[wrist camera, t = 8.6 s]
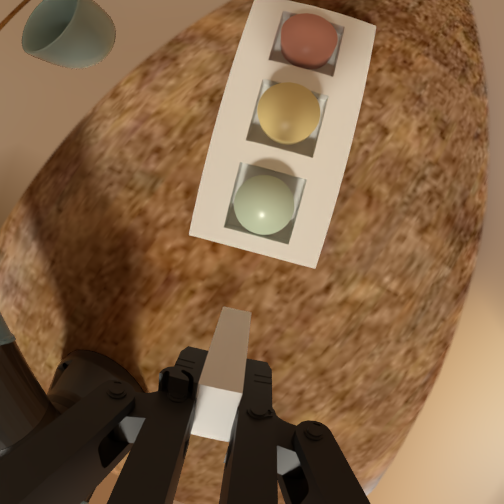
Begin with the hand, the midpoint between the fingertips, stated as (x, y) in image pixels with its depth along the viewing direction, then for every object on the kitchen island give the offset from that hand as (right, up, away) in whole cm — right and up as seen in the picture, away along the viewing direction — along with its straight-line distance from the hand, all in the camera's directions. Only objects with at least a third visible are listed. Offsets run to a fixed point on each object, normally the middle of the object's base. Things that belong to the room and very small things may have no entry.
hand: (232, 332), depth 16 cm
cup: (-17, +29, +11) cm, 35 cm away
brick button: (+6, +24, +8) cm, 26 cm away
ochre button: (+4, +16, +9) cm, 19 cm away
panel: (+4, +17, +12) cm, 21 cm away
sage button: (+2, +9, +12) cm, 15 cm away
